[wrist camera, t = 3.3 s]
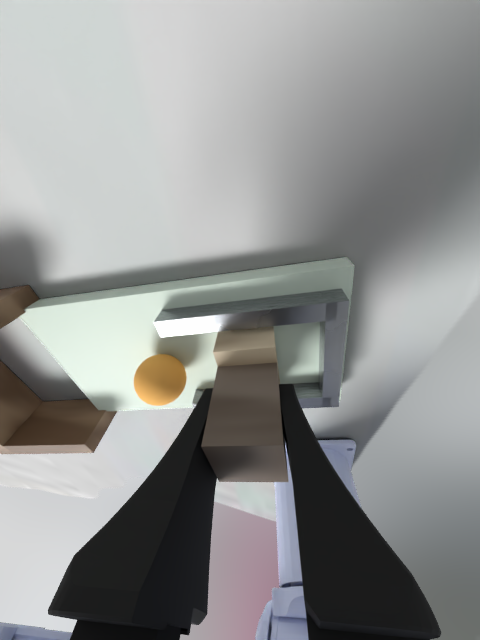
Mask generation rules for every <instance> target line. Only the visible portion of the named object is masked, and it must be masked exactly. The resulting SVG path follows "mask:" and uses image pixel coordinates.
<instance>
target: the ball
mask: <svg viewBox="0 0 480 640" xmlns="http://www.w3.org/2000/svg"><path fill="white" fill-rule="evenodd" d="M186 379H187V376H186V371H185V368H184V366H183V364H182V363H181V362H180V361H179V360H178V359H177V358H175V357H173V356H171V355H167V354H157V355H154V356H151V357H149V358H147V359H146V360H144V361H143V362H142V363H141V364H140V365H139V367H138V368H137V370H136V372H135V376H134V388H135V391H136V393H137V395H138V396H139V398H140V399H141V400H142V401H144V402H145V403H147V404H150V405H154V406H162V405H166V404H169V403H171V402H173V401H174V400H176V399H177V398H178V397H179V396H180V395H181V393H182V392H183V390H184V388H185V385H186Z"/></svg>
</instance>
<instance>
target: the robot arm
mask: <svg viewBox="0 0 480 640" xmlns="http://www.w3.org/2000/svg"><path fill="white" fill-rule="evenodd" d="M212 391H213V388H206V389H205V390H204V391H203V393H202V395H201V397H200V399H199V401H198V403H197V405H196V406H195V408H194V410H193V412H192V413H191V415H190V417H189V418H188V420H187V422H186V423H185V425H184V427H183V428H182V430H181V432H180V433H179V435H178V436H177V438H176V439H175V441H174V442H173V444H172V445H171V447H170V448H169V450H168V451H167V452H166V454H165V455H164V457H163V458H162V459H161V461H160V462H159V463H158V465H157V466H156V467H155V469H154V470H153V471H152V473H151V474H150V475H149V476H148V477H147V479H146V480H145V481H144V482H143V484H142V485H141V486H140V487H139V488H138V490H137V491H136V492H135V493H134V494H133V495H132V497H131V498H130V499H129V500H128V501H127V502H126V503H125V504H124V505H123V506H122V508H121V509H120V510H119V511H118V512H117V513H116V514H115V515H114V516H113V517H112V518H111V520H110V521H108V523H107V524H106V525H105V526H104V527H103V528H102V529H101V530H100V531H99V532H98V533H97V534H95V535H94V536H93V538H91V539H90V540H89V541H88V542H87V543H86V544H85V545H84V547H82V548H81V549H80V550H79V552H77V553H76V554H75V555H74V557H73V559H72V561H71V563H70V565H69V566H68V568H67V570H66V572H65V575H64V577H63V579H62V581H61V583H60V585H59V587H58V590H57V592H56V594H55V596H54V599H53V600H52V603H51V605H50V607H49V609H48V614H49V615H53V616H59V617H65V618H70V619H76V620H77V623H76V625H75V628H74V630H73V633H71V632H62V631H55V630H47V629H45V628H41V627H33V626H25V625H17V624H9V623H1V622H0V640H179V639H180V634H184V635H189V633H190V627H191V624H195V625H199V624H200V623H201V622H202V621H203V619H204V618H205V616H206V615H207V605H208V581H209V560H210V544H211V530H212V517H213V506H214V494H215V486H216V480H217V476H216V474H215V472H214V470H213V469H212V467H211V465H210V463H209V461H208V459H207V457H206V455H205V453H204V451H203V449H202V447H201V445H202V440H203V435H204V430H205V425H206V421H207V416H208V411H209V406H210V401H211V396H212ZM279 393H280V405H281V413H282V421H283V429H284V437H285V448H286V459H287V470H288V482H274V486H275V501H276V523H277V544H278V545H277V546H278V567H279V587H280V588H272V600H270V601H269V602H268V603H267V604H266V606H265V608H264V611H263V613H262V615H261V618H260V620H259V623H258V627H257V631H256V637H255V640H430V639H434V638H438V637H440V635H441V631H440V628H439V625H438V623H437V620H436V618H435V616H434V614H433V612H432V610H431V607H430V605H429V604H428V602H427V600H426V598H425V596H424V594H423V593H422V591H421V589H420V587H419V586H418V584H417V582H416V581H415V579H414V577H413V575H412V574H411V573H410V571H409V570H408V569H407V567H406V566H405V565H404V564H403V562H402V561H401V560H400V559H399V557H398V556H397V555H396V554H395V552H394V551H393V550H392V548H391V547H390V546H389V545H388V544H387V542H386V541H385V540H384V538H383V537H382V536H381V534H380V533H379V532H378V530H377V529H376V528H375V527H374V525H373V524H372V523H371V521H370V520H369V518H368V517H367V516H366V514H365V513H364V512H363V510H362V508H361V504H360V501H359V498H358V494H357V491H356V487H355V484H354V480H353V477H352V473H351V469H352V464H353V459H354V454H355V449H356V444H355V441H353V440H317V439H316V437H315V435H314V433H313V431H312V429H311V427H310V425H309V423H308V421H307V419H306V417H305V415H304V413H303V410H302V408H301V406H300V403H299V401H298V398H297V395H296V392H295V389H294V385H293V384H279Z"/></svg>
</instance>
